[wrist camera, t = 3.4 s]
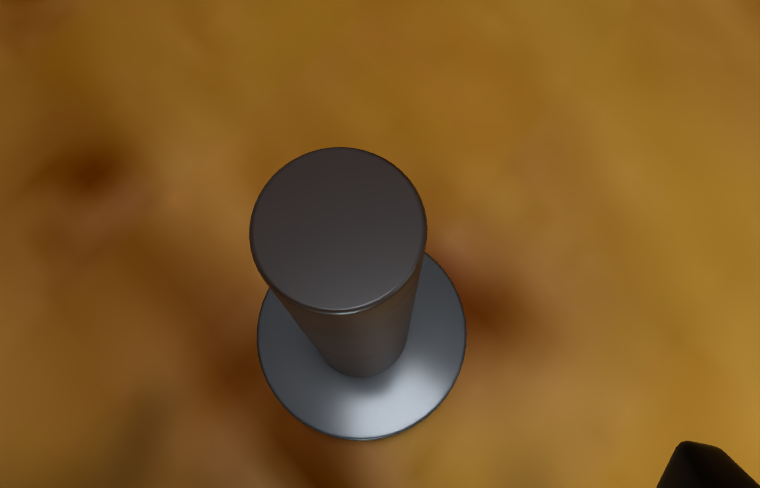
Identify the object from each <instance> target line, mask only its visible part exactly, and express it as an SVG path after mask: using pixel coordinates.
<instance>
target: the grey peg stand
mask: <svg viewBox="0 0 760 488" xmlns="http://www.w3.org/2000/svg"><path fill="white" fill-rule="evenodd" d="M249 239H250V248H251V252H252V256H253V260H254V262H255V264H256V267H257V269H258V271H259V273H260V274H261V276H262V278H263V279H264V281H265V282H266V283H267V285H268V286H269V289H268V291H267V293H266V296H265V298H264V300H263V303H262V307H261V310H260V314H259V319H258V326H257V348H258V356H259V360H260V364H261V368H262V371H263V373H264V376H265V378H266V381H267V383H268V385H269V387H270V388H271V390H272V392H273V394H274V395H275V396H276V398H277V399H278V400H279V402H280V403H281V404H282V406H283V407H284V408H285V409H286V410H288V411H289V412H290V413H291V414H292V415H293V416H294V417H295V418H297V419H298V420H299V421H301V422H302V423H303V424H305V425H307V426H308V427H310V428H312V429H314V430H316V431H318V432H321V433H323V434H326V435H328V436H332V437H336V438H340V439H346V440H357V441H366V440H378V439H383V438H388V437H391V436H394V435H397V434H400V433H402V432H404V431H406V430H408V429H410V428H412V427H413V426H415V425H416V424H418V423H419V422H421V421H422V420H424V419H425V418H427V417H428V416H429V415H430V414H431V413H432V412H433V411H434V410H436V409H437V407H438V406H439V405H440V404H441V403H442V402H443V400H444V399H445V398H446V397H447V395H448V394H449V392H450V390H451V389H452V387H453V386H454V384H455V381H456V379H457V377H458V375H459V373H460V370H461V367H462V363H463V360H464V355H465V349H466V335H467V332H466V320H465V315H464V310H463V306H462V303H461V300H460V298H459V295H458V293H457V291H456V289H455V287H454V285H453V283H452V281H451V280H450V278H449V277H448V275H447V274H446V272H445V271H444V270H443V269H442V268H441V266H440V265H439V264H438V263H437V262H436V261H435V260H434V259H433V258H432V257H430V256H429V255H428V254H427V253H426V252H425V247H426V242H427V218H426V214H425V209H424V206H423V203H422V200H421V198H420V196H419V194H418V192H417V190H416V188H415V187H414V185H413V184H412V182H411V181H410V180H409V178H408V177H407V176H406V175H405V174H404V173H403V172H402V171H401V170H400V169H398V168H397V167H396V166H395V165H394V164H392V163H390V162H389V161H387V160H386V159H384V158H382V157H380V156H378V155H376V154H373V153H370V152H367V151H364V150H360V149H355V148H346V147H334V148H325V149H319V150H316V151H312V152H309V153H307V154H304V155H302V156H300V157H298V158H296V159H294V160H292V161H291V162H289V163H288V164H286V165H285V166H284V167H282V168H281V169H280V170H279V171H278V172H277V173H276V174H274V175H273V176H272V178H271V179H270V180H269V181H268V183H267V184H266V185H265V186H264V188H263V190H262V191H261V193H260V194H259V196H258V199H257V201H256V203H255V205H254V208H253V212H252V215H251V221H250V229H249Z"/></svg>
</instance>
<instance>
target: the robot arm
mask: <svg viewBox="0 0 760 488" xmlns="http://www.w3.org/2000/svg"><path fill="white" fill-rule="evenodd" d="M657 488H760V485H758V484H757V483H756V482H755V481H754V480H753V479H752V478H751V477H750V476H749V475H748V474H747V473H746V472H745V471H744V470H743V469H742V468H741V467H740V466H739V465H738V464H736V463H735V462H734V461H733V460H732V459H731V458H730V457H729V456H728V455H727V454H726V453H725V452H724V451H723V450H721V449H720V448H718V447H715V446H712V445H707V444H702V443H697V442H692V441H683V442H681V443H680V444H679V445H678V446H677V447H676V449H675V451H674V453H673V455H672V457H671V459H670V461H669V463H668V465H667V467H666V469H665V471H664V473H663V475H662V477H661V479H660V481H659V483H658V485H657Z"/></svg>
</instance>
